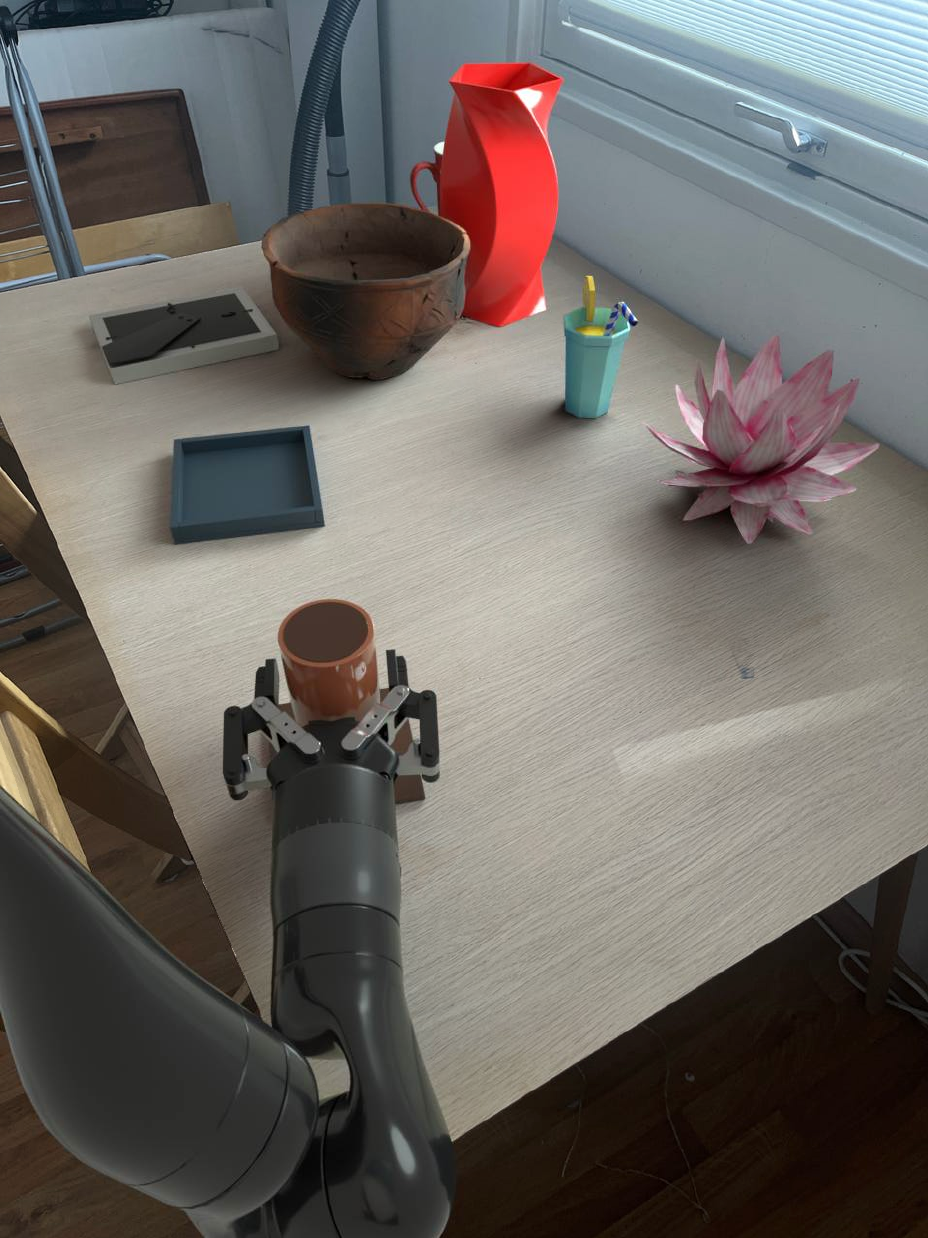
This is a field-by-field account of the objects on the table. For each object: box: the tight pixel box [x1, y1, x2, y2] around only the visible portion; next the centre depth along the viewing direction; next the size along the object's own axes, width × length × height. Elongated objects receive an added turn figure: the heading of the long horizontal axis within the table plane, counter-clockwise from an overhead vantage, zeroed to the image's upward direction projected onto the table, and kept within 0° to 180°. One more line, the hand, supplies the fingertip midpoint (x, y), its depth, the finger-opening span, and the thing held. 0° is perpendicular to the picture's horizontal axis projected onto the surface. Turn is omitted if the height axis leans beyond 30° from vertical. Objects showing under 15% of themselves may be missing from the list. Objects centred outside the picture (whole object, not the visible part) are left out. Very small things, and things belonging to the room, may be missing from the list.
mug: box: [409, 140, 445, 216], centre depth 135 cm, size 13×9×14 cm
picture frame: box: [88, 286, 280, 385], centre depth 114 cm, size 16×3×21 cm
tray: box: [169, 424, 326, 545], centre depth 91 cm, size 15×16×2 cm
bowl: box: [260, 202, 470, 381], centre depth 107 cm, size 25×25×15 cm
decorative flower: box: [643, 333, 880, 544], centre depth 86 cm, size 21×21×15 cm
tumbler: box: [277, 598, 381, 727], centre depth 63 cm, size 6×6×13 cm
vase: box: [440, 62, 564, 328], centre depth 114 cm, size 15×14×28 cm
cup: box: [562, 275, 639, 419], centre depth 98 cm, size 14×8×15 cm, turn 20°
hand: (331, 661), depth 63 cm, fingers open, 8 cm apart
